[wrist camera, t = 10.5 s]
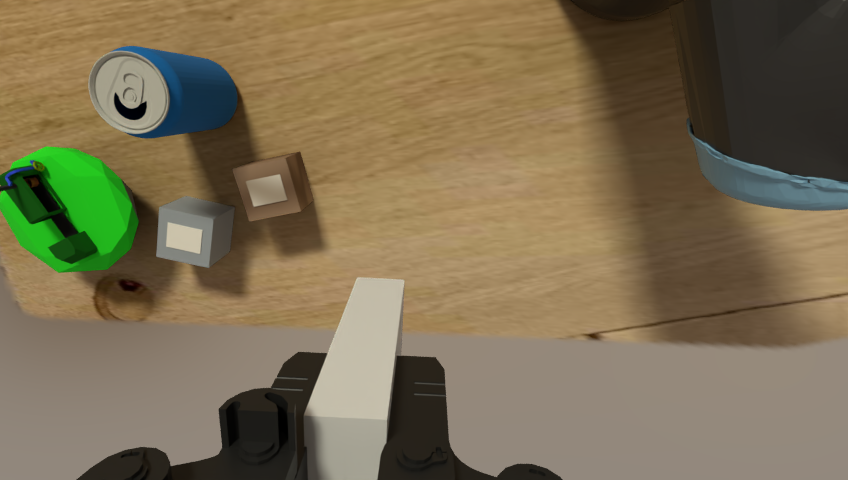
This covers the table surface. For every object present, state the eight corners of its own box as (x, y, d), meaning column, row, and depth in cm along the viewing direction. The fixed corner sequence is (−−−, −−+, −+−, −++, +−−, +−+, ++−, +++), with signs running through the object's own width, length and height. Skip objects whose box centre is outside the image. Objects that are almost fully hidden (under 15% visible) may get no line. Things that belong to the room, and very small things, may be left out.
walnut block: (252, 161, 46) (231, 169, 41) (300, 151, 45) (285, 158, 40) (267, 209, 47) (248, 221, 42) (313, 199, 47) (300, 211, 42)
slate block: (186, 195, 47) (158, 207, 42) (235, 206, 47) (213, 219, 42) (183, 240, 48) (155, 256, 43) (230, 251, 48) (208, 268, 44)
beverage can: (169, 118, 44) (79, 125, 33) (177, 49, 42) (84, 31, 31) (235, 137, 45) (169, 150, 33) (245, 69, 43) (179, 59, 31)
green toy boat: (24, 174, 46) (-98, 197, 36) (115, 123, 44) (16, 131, 34) (96, 274, 49) (4, 321, 39) (185, 230, 48) (113, 267, 37)
